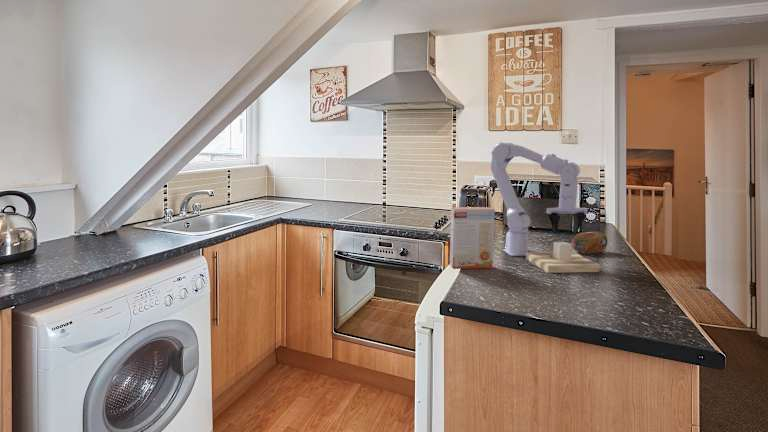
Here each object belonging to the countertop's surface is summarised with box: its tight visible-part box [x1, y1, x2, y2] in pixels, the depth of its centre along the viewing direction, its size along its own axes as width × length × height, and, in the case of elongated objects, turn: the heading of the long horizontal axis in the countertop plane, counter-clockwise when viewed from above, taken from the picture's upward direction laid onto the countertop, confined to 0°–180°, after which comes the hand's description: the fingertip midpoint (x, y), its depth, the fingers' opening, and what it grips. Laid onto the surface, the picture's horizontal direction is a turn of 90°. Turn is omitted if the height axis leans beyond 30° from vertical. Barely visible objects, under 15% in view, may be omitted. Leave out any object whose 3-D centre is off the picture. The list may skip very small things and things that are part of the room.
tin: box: [572, 231, 608, 255], centre depth 169 cm, size 15×3×8 cm, turn 105°
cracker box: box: [449, 206, 496, 270], centre depth 145 cm, size 14×6×21 cm, turn 92°
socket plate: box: [525, 251, 601, 274], centre depth 150 cm, size 18×18×2 cm
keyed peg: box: [552, 241, 573, 260], centre depth 150 cm, size 4×6×8 cm
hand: (565, 233), depth 155 cm, fingers open, 7 cm apart
